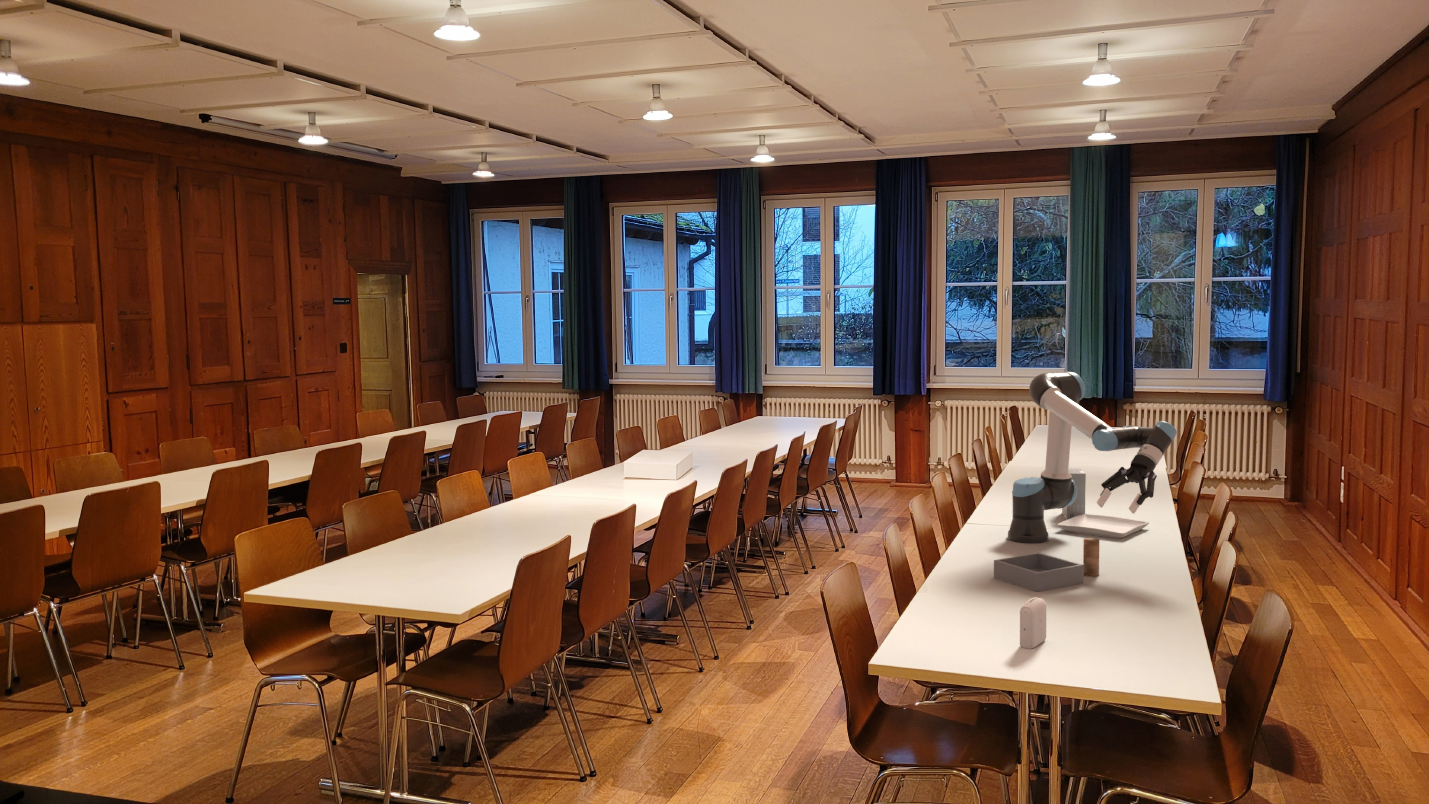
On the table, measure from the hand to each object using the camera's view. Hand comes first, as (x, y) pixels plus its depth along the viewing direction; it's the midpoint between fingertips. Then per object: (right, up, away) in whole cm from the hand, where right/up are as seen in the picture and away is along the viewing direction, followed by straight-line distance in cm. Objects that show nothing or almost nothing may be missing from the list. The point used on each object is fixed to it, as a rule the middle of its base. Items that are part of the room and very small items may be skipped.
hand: (1114, 508), depth 347 cm
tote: (-29, -23, -8) cm, 38 cm away
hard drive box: (+17, -13, +89) cm, 91 cm away
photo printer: (-50, -30, -70) cm, 91 cm away
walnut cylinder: (-9, -22, -3) cm, 24 cm away
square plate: (+20, -16, +62) cm, 67 cm away
